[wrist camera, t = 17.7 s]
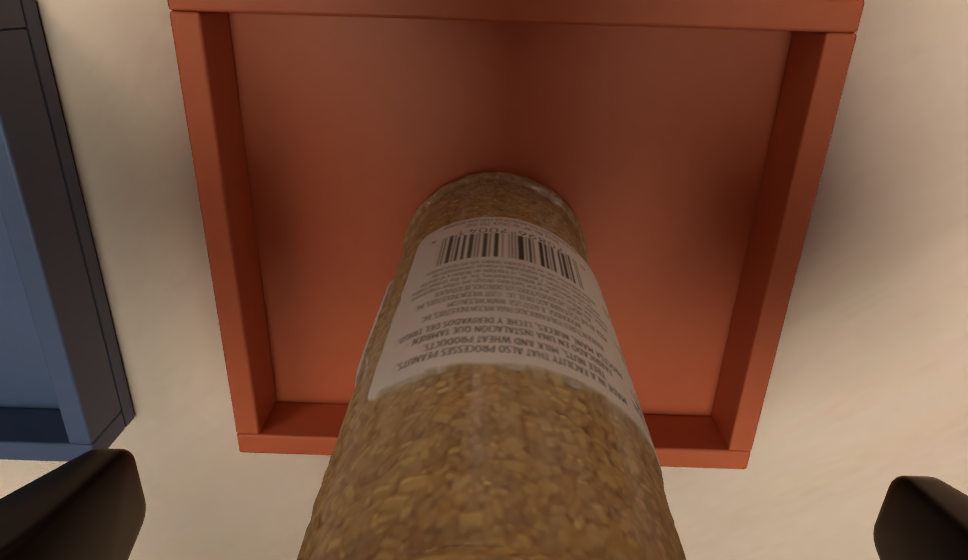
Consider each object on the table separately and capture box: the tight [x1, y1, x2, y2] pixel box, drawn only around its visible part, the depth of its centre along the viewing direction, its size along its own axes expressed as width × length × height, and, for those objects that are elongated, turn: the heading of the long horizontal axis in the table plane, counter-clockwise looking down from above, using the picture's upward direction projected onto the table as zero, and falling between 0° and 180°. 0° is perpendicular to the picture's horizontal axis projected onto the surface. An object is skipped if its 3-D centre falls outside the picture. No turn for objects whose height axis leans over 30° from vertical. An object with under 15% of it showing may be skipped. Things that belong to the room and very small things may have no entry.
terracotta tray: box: [168, 0, 864, 469], centre depth 15 cm, size 11×13×2 cm
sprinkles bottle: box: [297, 172, 686, 560], centre depth 10 cm, size 5×5×14 cm
